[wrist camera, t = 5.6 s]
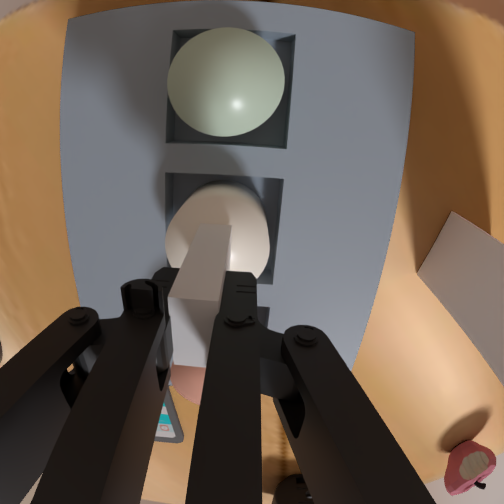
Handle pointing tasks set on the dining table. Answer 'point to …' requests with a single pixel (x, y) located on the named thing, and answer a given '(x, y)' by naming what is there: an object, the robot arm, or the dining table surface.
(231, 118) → the button sage
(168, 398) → the smartphone
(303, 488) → the end cap
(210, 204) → the button cream
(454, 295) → the milk
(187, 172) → the console
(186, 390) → the button terracotta
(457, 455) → the apple
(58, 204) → the dining table surface
